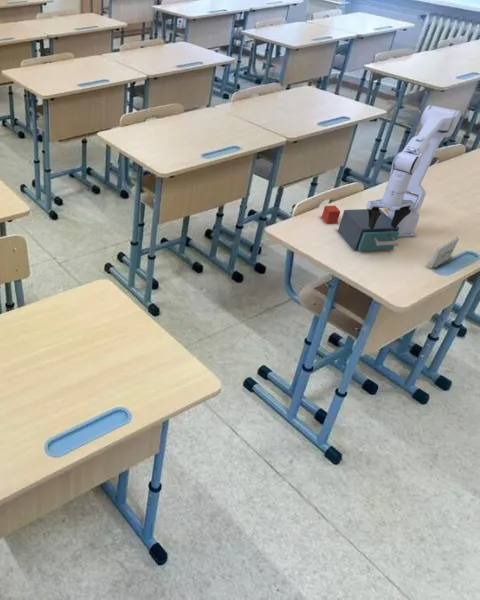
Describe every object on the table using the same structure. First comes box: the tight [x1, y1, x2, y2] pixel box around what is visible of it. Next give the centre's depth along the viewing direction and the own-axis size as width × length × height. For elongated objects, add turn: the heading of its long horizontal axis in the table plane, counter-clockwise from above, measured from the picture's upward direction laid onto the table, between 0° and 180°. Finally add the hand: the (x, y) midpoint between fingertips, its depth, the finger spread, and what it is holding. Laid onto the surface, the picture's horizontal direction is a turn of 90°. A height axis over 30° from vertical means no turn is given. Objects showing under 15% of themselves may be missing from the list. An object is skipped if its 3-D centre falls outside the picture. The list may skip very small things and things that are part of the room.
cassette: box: [428, 236, 460, 269], centre depth 182 cm, size 12×2×8 cm, turn 124°
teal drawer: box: [358, 230, 400, 252], centre depth 190 cm, size 17×12×7 cm
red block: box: [321, 205, 341, 225], centre depth 206 cm, size 4×5×5 cm
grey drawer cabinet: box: [337, 208, 399, 252], centre depth 193 cm, size 14×13×9 cm
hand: (382, 227), depth 183 cm, fingers open, 7 cm apart
